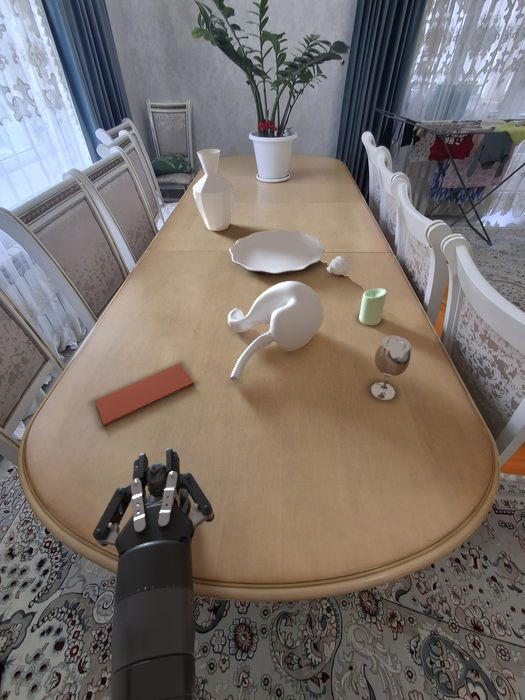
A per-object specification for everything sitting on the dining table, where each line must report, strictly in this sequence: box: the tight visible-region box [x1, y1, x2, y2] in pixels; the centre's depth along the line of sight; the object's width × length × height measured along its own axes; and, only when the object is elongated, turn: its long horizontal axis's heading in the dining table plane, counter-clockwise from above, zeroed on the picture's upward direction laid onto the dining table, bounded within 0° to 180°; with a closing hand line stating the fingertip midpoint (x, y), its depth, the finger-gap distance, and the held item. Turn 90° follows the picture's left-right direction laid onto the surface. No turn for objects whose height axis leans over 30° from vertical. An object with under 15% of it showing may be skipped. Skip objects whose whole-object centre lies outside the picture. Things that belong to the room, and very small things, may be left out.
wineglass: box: [370, 335, 412, 401], centre depth 63 cm, size 6×6×12 cm
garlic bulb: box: [326, 255, 351, 276], centre depth 99 cm, size 6×6×5 cm
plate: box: [228, 229, 326, 275], centre depth 110 cm, size 29×29×2 cm
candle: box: [358, 287, 388, 326], centre depth 82 cm, size 5×5×8 cm
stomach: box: [227, 280, 325, 383], centre depth 76 cm, size 23×13×24 cm
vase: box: [192, 148, 235, 232], centre depth 123 cm, size 14×14×25 cm
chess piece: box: [145, 462, 192, 517], centre depth 47 cm, size 6×6×12 cm
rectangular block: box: [94, 362, 194, 426], centre depth 70 cm, size 18×7×1 cm, turn 123°
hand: (156, 454), depth 47 cm, fingers closed on chess piece, 3 cm apart
